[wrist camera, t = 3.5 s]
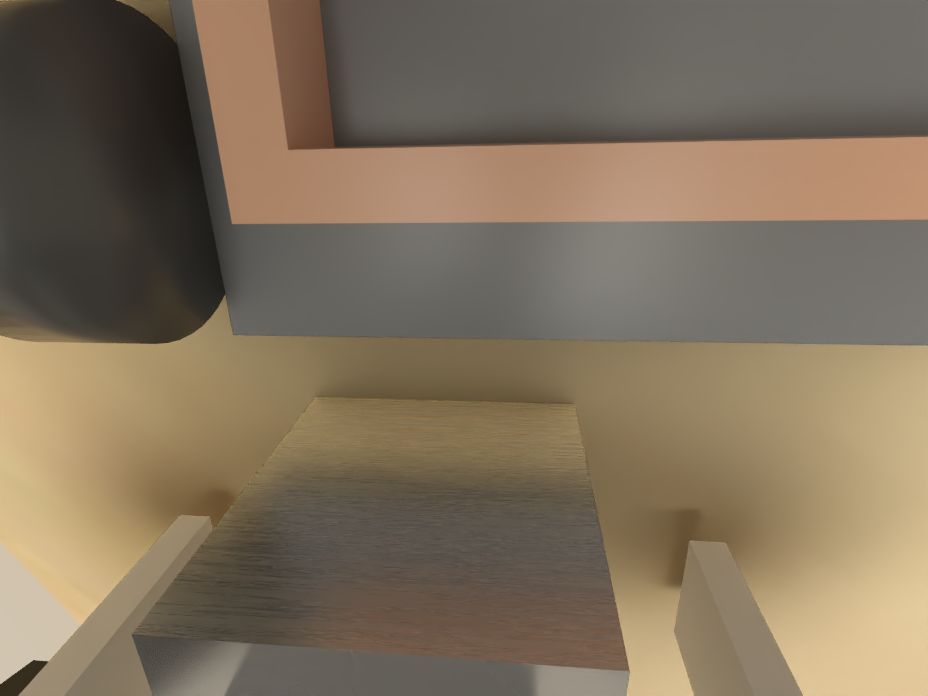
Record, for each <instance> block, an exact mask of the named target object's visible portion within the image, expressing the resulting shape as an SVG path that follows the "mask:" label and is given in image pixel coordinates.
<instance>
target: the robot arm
mask: <svg viewBox="0 0 928 696" xmlns="http://www.w3.org/2000/svg"><path fill="white" fill-rule="evenodd" d="M212 530H213V528H212V524H211V520H210V516H191V515H180V516H179V517H178V518H177V519H176V520H175V521H174V522H173V523H172V524H171V526H170V527H169V528H168V529H167V530H166V531H165V532H164V533H163V535H162V536H161V537H160V538H159V539H158V540H157V541H156V542H155V543H154V545H153V546H152V547H151V548H150V549H149V550H148V551H147V552H146V554H145V555H144V556H143V557H142V558H141V559H140V560H139V561H138V562H137V564H136V565H135V566H134V567H133V568H132V569H131V570H130V571H129V573H128V574H127V575H126V576H125V577H124V578H123V579H122V580H121V581H120V583H119V584H118V585H117V586H116V587H115V588H114V589H113V590H112V592H111V593H110V594H109V595H108V596H107V597H106V598H105V599H104V600H103V602H102V603H101V604H100V605H99V606H98V607H97V608H96V609H95V611H94V612H93V613H92V614H91V615H90V616H89V617H88V618H87V619H86V621H85V622H84V623H83V624H82V625H81V626H80V627H79V628H78V630H77V631H76V632H75V633H74V634H73V635H72V636H71V637H70V638H69V640H68V641H67V642H66V643H65V644H64V645H63V646H62V647H61V649H60V650H59V651H58V652H57V653H56V654H55V655H54V656H53V658H52V659H51V660H50V661H49V662H48V661H36V660H33V661H32V662H30V663H29V664H28V665H26V666H25V667H24V668H22V669H21V670H20V671H18V672H17V673H15V674H14V675H13V676H11V677H10V678H9V679H7V680H6V681H4V682H3V683H2V684H0V696H153V695H152V693H151V690H150V687H149V684H148V681H147V678H146V675H145V672H144V669H143V666H142V664H141V661H140V658H139V655H138V652H137V649H136V646H135V643H134V640H133V638H132V635H131V634H132V633H133V632H134V631H135V629H136V628H137V627H138V625H139V624H140V623H141V622H142V620H143V619H144V618H145V616H146V615H147V614H148V613H149V611H150V610H151V609H152V607H153V606H154V605H155V604H156V602H157V601H158V600H159V598H160V597H161V596H162V595H163V593H164V592H165V591H166V589H167V588H168V587H169V585H170V584H171V583H172V582H173V580H174V579H175V578H176V576H177V575H178V574H179V573H180V571H181V570H182V569H183V567H184V566H185V565H186V564H187V562H188V561H189V560H190V558H191V557H192V556H193V555H194V553H195V552H196V551H197V549H198V548H199V547H200V545H201V544H202V543H203V542H204V540H205V539H206V538H207V536H208V535H209V534H210V533H211V531H212ZM674 632H675V636H676V639H677V642H678V645H679V649H680V652H681V655H682V658H683V661H684V665H685V668H686V671H687V674H688V677H689V681H690V684H691V687H692V690H693V693H694V696H803V694H802V692H801V690H800V688H799V687H798V685H797V683H796V681H795V679H794V677H793V675H792V673H791V671H790V669H789V667H788V665H787V663H786V661H785V659H784V657H783V655H782V653H781V651H780V649H779V647H778V645H777V643H776V641H775V639H774V637H773V635H772V633H771V631H770V629H769V627H768V625H767V623H766V621H765V619H764V617H763V615H762V613H761V611H760V609H759V607H758V606H757V604H756V602H755V600H754V598H753V596H752V594H751V592H750V590H749V588H748V586H747V584H746V582H745V580H744V578H743V576H742V574H741V572H740V570H739V568H738V566H737V564H736V562H735V560H734V558H733V556H732V554H731V552H730V550H729V548H728V546H727V544H726V542H712V541H692V540H690V541H689V547H688V552H687V558H686V564H685V570H684V576H683V582H682V588H681V594H680V599H679V605H678V611H677V617H676V623H675V629H674Z"/></svg>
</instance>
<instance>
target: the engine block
mask: <svg viewBox="0 0 928 696" xmlns="http://www.w3.org/2000/svg"><path fill="white" fill-rule="evenodd" d="M131 635H132V638H133V640H134V643H135V646H136V649H137V652H138V655H139V658H140V661H141V664H142V666H143V669H144V672H145V675H146V678H147V681H148V684H149V687H150V690H151V693H152V695H153V696H626V695H627V687H628V680H629V673H630V671H629V666H628V661H627V656H626V651H625V647H624V642H623V637H622V632H621V627H620V622H619V617H618V612H617V607H616V603H615V598H614V593H613V588H612V583H611V578H610V573H609V568H608V564H607V559H606V554H605V549H604V544H603V539H602V534H601V529H600V525H599V520H598V515H597V510H596V505H595V500H594V495H593V490H592V485H591V481H590V476H589V471H588V466H587V461H586V456H585V451H584V446H583V442H582V437H581V432H580V427H579V422H578V417H577V412H576V407H575V404H558V403H522V402H485V401H449V400H413V399H376V398H340V397H315V398H314V400H313V401H312V402H311V404H310V405H309V406H308V408H307V409H306V410H305V411H304V413H303V414H302V415H301V417H300V418H299V419H298V420H297V422H296V423H295V424H294V426H293V427H292V428H291V429H290V431H289V432H288V433H287V435H286V436H285V437H284V438H283V440H282V441H281V442H280V444H279V445H278V446H277V447H276V449H275V450H274V451H273V453H272V454H271V455H270V457H269V458H268V459H267V460H266V462H265V463H264V464H263V466H262V467H261V468H260V469H259V471H258V472H257V473H256V475H255V476H254V477H253V478H252V480H251V481H250V482H249V484H248V485H247V486H246V487H245V489H244V490H243V491H242V493H241V494H240V495H239V496H238V498H237V499H236V500H235V502H234V503H233V504H232V506H231V507H230V508H229V509H228V511H227V512H226V513H225V515H224V516H223V517H222V518H221V520H220V521H219V522H218V524H217V525H216V526H215V527H214V529H213V530H212V531H211V533H210V534H209V535H208V536H207V538H206V539H205V540H204V542H203V543H202V544H201V545H200V547H199V548H198V549H197V551H196V552H195V553H194V555H193V556H192V557H191V558H190V560H189V561H188V562H187V564H186V565H185V566H184V567H183V569H182V570H181V571H180V573H179V574H178V575H177V576H176V578H175V579H174V580H173V582H172V583H171V584H170V585H169V587H168V588H167V589H166V591H165V592H164V593H163V595H162V596H161V597H160V598H159V600H158V601H157V602H156V604H155V605H154V606H153V607H152V609H151V610H150V611H149V613H148V614H147V615H146V616H145V618H144V619H143V620H142V622H141V623H140V624H139V625H138V627H137V628H136V629H135V631H134V632H133V633H132V634H131Z"/></svg>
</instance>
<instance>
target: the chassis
mask: <svg viewBox="0 0 928 696" xmlns="http://www.w3.org/2000/svg"><path fill="white" fill-rule="evenodd" d="M169 4H170V10H171V15H172V20H173V25H174V30H175V35H176V41H177V44H176V43H175V41H174V40H173V39H172V38H171V37H170V36H169V35H168V34H167V33H166V32H165V31H164V30H163V29H162V28H161V27H159V26H158V25H157V24H156V23H154V22H153V21H152V20H151V19H150V18H148V17H147V16H145V15H144V14H142V13H141V12H139V11H137V10H136V9H134V8H133V7H130V6H128V5H126V4H123V3H121V2H119V1H116V0H8V1H0V335H1V336H5V337H9V338H13V339H17V340H25V341H35V342H81V343H140V344H158V343H169V342H173V341H176V340H180V339H182V338H184V337H186V336H188V335H190V334H192V333H193V332H195V331H196V330H198V329H199V328H200V327H202V326H203V325H204V324H205V322H206V321H207V320H208V319H209V318H210V317H211V316H212V315H213V313H214V312H215V310H216V309H217V308H218V306H219V304H220V303H221V301H222V299H223V297H224V295H226V300H227V305H228V310H229V315H230V321H231V326H232V331H233V335H262V336H329V337H395V338H462V339H528V340H595V341H661V342H728V343H794V344H861V345H927V346H928V0H169Z"/></svg>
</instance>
